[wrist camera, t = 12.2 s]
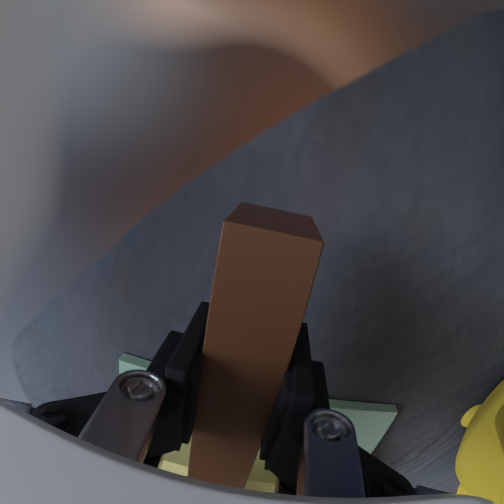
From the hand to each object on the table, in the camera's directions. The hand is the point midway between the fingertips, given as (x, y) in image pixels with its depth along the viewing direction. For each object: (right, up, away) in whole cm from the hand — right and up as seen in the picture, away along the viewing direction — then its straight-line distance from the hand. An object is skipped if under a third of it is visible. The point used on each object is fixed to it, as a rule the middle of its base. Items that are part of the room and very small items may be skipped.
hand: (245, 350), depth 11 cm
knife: (-1, -5, +2) cm, 5 cm away
